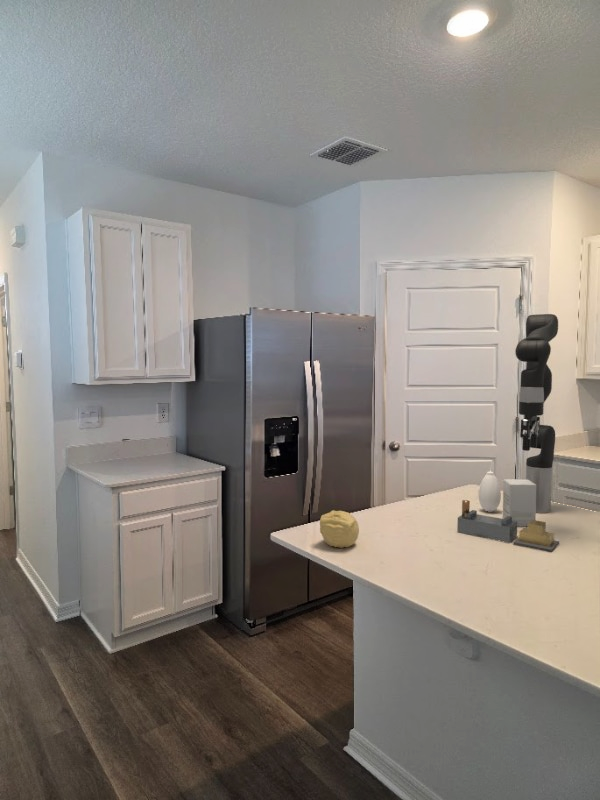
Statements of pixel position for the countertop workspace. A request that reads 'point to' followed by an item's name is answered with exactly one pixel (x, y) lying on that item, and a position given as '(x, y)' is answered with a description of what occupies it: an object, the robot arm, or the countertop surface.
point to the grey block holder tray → (486, 525)
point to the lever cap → (536, 534)
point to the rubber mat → (536, 545)
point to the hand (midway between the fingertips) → (529, 448)
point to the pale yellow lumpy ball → (339, 528)
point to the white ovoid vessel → (489, 492)
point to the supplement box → (519, 500)
